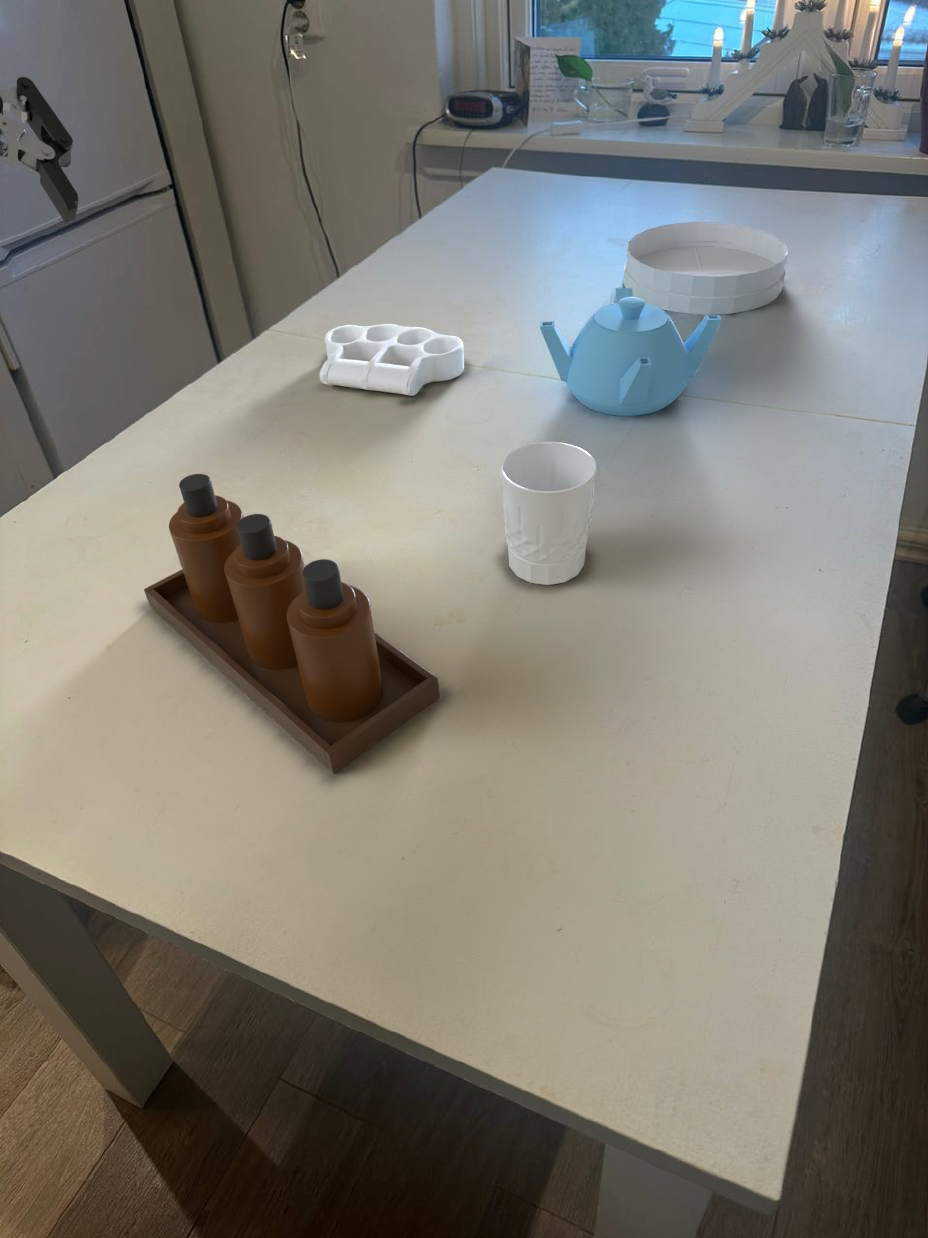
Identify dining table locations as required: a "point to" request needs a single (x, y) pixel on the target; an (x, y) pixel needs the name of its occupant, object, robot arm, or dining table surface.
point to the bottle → (206, 546)
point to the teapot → (629, 356)
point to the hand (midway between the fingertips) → (17, 229)
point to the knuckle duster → (390, 358)
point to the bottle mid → (265, 590)
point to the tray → (297, 681)
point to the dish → (705, 267)
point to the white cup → (547, 510)
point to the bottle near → (335, 645)
